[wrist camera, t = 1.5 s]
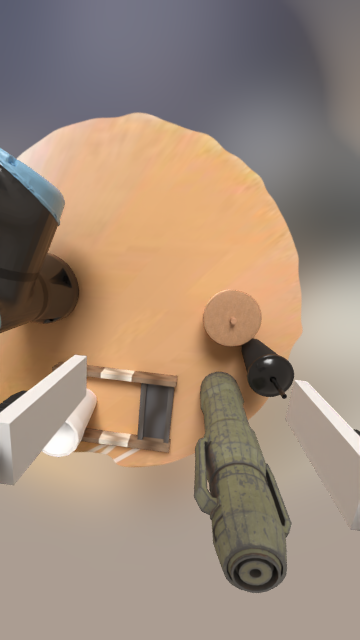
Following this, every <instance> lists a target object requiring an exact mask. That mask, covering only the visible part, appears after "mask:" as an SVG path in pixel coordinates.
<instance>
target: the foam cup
mask: <svg viewBox="0 0 360 640" xmlns="http://www.w3.org/2000/svg"><path fill="white" fill-rule="evenodd" d="M96 404H97V398H96V396H95V394H94V393H93V392H92V391H91V390H89V389H86V397H85V398H84V399H83V400H82V401H81V403H80V404H79V405H78V406H77V408H76V409H75V410H74V411H73V413H72V414H71V415H70V416H69V418H68V419H67V420H66V421H65V423H64V424H63V425H62V426H61V427H60V429H59V430H58V431H57V432H56V434H55V435H54V436H53V437H52V439H51V440H50V441H49V442H48V444H47V445H46V446H45V447H44V449H43V450H42V452H44V453H46V454H47V455H50V456H56V457H62V456H66V455H69V454H71V453H72V452H73V451H74V450H76V448H77V446H78V445H79V443H80V442H81V440H82V437H83V434H84V431H85V429H86V427H87V424H88V422H89V420H90V418H91V415H92V413H93V411H94V409H95V406H96Z"/></svg>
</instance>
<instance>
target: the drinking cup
mask: <svg viewBox="0 0 360 640" xmlns="http://www.w3.org/2000/svg"><path fill="white" fill-rule="evenodd" d="M242 354H243V358H244V362H245V366H246V370H247V379H248V383H249V385H250V387H251V388H252V389H253V391H255V392H256V393H257V394H259V395H262V396H266V397H274V396H278V395H281V396H282V398H283V399H285V398H286V397H287V395H286V394H285V391H286V390H288V389H289V387H290V386H291V384H292V382H293V379H294V370H293V367H292V365H291V364H290V363H289V361H288V360H286V359H285V358H284V357H282V356H279V355H277V354H276V353H275V352H274V351H272V350H271V349H270V348H268V347H267V346H266V345H264V344H263V343H262V342H260V341H259V340H257V339H251V340H250V341H248V342H246V343H245V344H243V345H242Z"/></svg>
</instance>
